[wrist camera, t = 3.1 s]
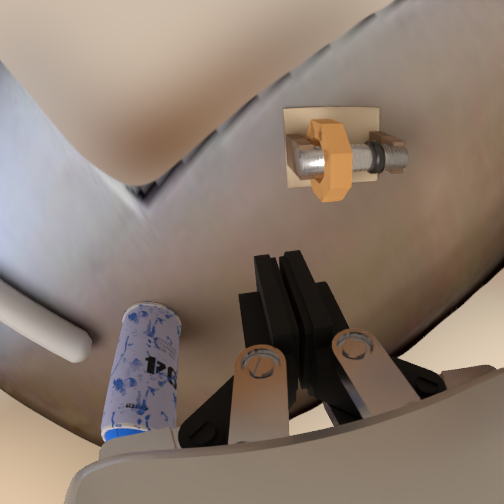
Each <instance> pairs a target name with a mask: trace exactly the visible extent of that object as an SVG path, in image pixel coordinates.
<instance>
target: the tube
mask: <svg viewBox="0 0 504 504" xmlns="http://www.w3.org/2000/svg"><path fill="white" fill-rule="evenodd" d="M0 321H2V322H3V323H5V324H6V325H8V326H9V327H11V328H12V329H14V330H16V331H17V332H19V333H20V334H22V335H24V336H25V337H27V338H29V339H30V340H32V341H34V342H36V343H37V344H39V345H41V346H43V347H44V348H46V349H48V350H50V351H52V352H53V353H55V354H57V355H59V356H61V357H63V358H65V359H67V360H68V361H70V362H72V363H75V362H81V361H82V360H84V359H85V358H86V357H87V356H88V354H89V353H90V351H91V345H92V340H91V338H90V337H89V335H88V333H87V332H86V331H85V330H83V329H81V328H80V327H78V326H76V325H74V324H72V323H71V322H69V321H67V320H65V319H64V318H62V317H60V316H58V315H57V314H55V313H53V312H52V311H50V310H48V309H47V308H45V307H43V306H42V305H40V304H38V303H37V302H35V301H33V300H32V299H30V298H29V297H27V296H26V295H24V294H23V293H21V292H19V291H18V290H16V289H15V288H13V287H12V286H10V285H9V284H8V283H6V282H5V281H3V280H2V279H0Z"/></svg>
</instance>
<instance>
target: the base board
mask: <svg viewBox="0 0 504 504" xmlns="http://www.w3.org/2000/svg"><path fill="white" fill-rule="evenodd" d="M379 114H380V108H378V107H304V108H284V109H283V120H284V136H285V154H286V173H287V187H288V188H295V187H305V186H311V182H310V179H314V175H303V176H299V175H298V173H297V169H296V164H295V150H296V148H297V147H298V148H299V150H312V149H314V144H312V143H311V142H309V141H308V140H306V138H305V137H306V134H307V131H308V127H309V124H310V121H311V119H332V120H335V121H337V122H340V123H343V126H344V129H345V132H346V135H347V137H348V140H349V143H350V144H365V142H366V141H373V140H377V141H379V142H380V143H381V144H392V145H393V146H405V142H403V141H401V140H399V139H397V138H394V137H392V136H390V135H387V134H385V133H382V132H380V131H379ZM387 171H389V172H390V173H392V174H397V173H403V169H392V170H387ZM377 175H378V174H370V173H368V172H367V171H355V172H352V182H364V181H377Z"/></svg>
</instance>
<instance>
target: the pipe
mask: <svg viewBox="0 0 504 504" xmlns="http://www.w3.org/2000/svg"><path fill="white" fill-rule="evenodd" d="M350 146H351V149H352V152H353V159H352V172H355V171H367V172H368V173H370V174H379V173H382V172H383V170H392V169H404V168H405V167H406V166H407V163H408V153H407V150H406V148H405V146H393V145H392V144H381V143H380V142H379V141H377V140H373V141H366V142H365V144H350ZM295 164H296V169H297V173H298V175H299V176H303V175H315V174H324V154H323V151H322V147H321V146H314V149H312V150H299V148H298V147H297V148H296V150H295Z"/></svg>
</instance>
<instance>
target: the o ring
mask: <svg viewBox="0 0 504 504" xmlns="http://www.w3.org/2000/svg"><path fill="white" fill-rule="evenodd" d="M305 138H306V140H308V141H309V142H311V143H312V144H314V146H321V147H322V151H323V154H324V174H315V175H314V179H310V182H311V186H312V190H313V192H314V193H315V194H316V196H317V197H318V198H319V199H320V200H321V202H331V201H341V200H342V199H343V198H344V197H345V195H346V194H347V192H348V191H349V190H350V188H351V187H352V159H353V152H352V149H351V146H350V143H349V140H348V137H347V135H346V132H345V129H344V126H343V123H340V122H337V121H335V120H332V119H311V121H310V124H309V127H308V131H307V134H306V137H305Z"/></svg>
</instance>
